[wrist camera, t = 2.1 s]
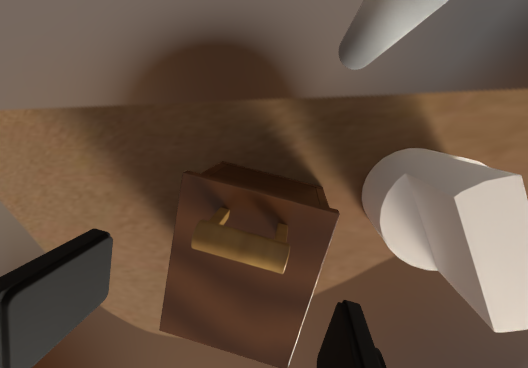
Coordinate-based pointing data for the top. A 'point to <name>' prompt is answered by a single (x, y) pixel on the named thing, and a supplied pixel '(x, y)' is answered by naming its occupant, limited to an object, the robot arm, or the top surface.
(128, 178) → the top surface
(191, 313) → the compartment lid
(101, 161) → the top surface
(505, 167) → the top surface
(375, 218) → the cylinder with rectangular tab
